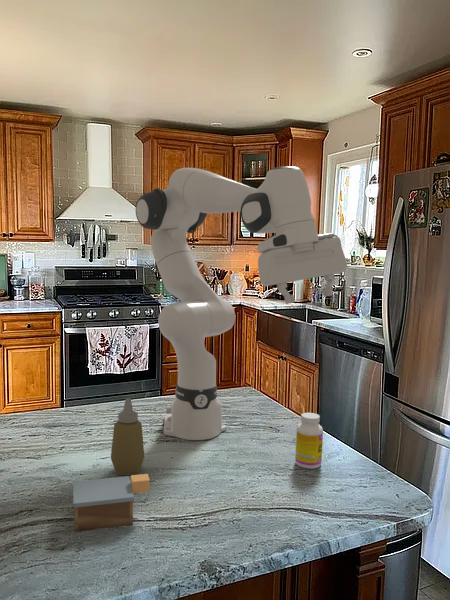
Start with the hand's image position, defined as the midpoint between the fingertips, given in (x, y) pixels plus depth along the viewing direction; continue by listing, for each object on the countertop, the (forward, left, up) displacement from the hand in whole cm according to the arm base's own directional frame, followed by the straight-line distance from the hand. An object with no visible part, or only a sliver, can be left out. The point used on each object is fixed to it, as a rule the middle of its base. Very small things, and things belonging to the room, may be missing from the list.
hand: (309, 299), depth 116 cm
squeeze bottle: (-18, -37, -44) cm, 61 cm away
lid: (+2, -43, -40) cm, 58 cm away
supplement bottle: (-12, +8, -44) cm, 46 cm away
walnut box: (+2, -44, -44) cm, 62 cm away
